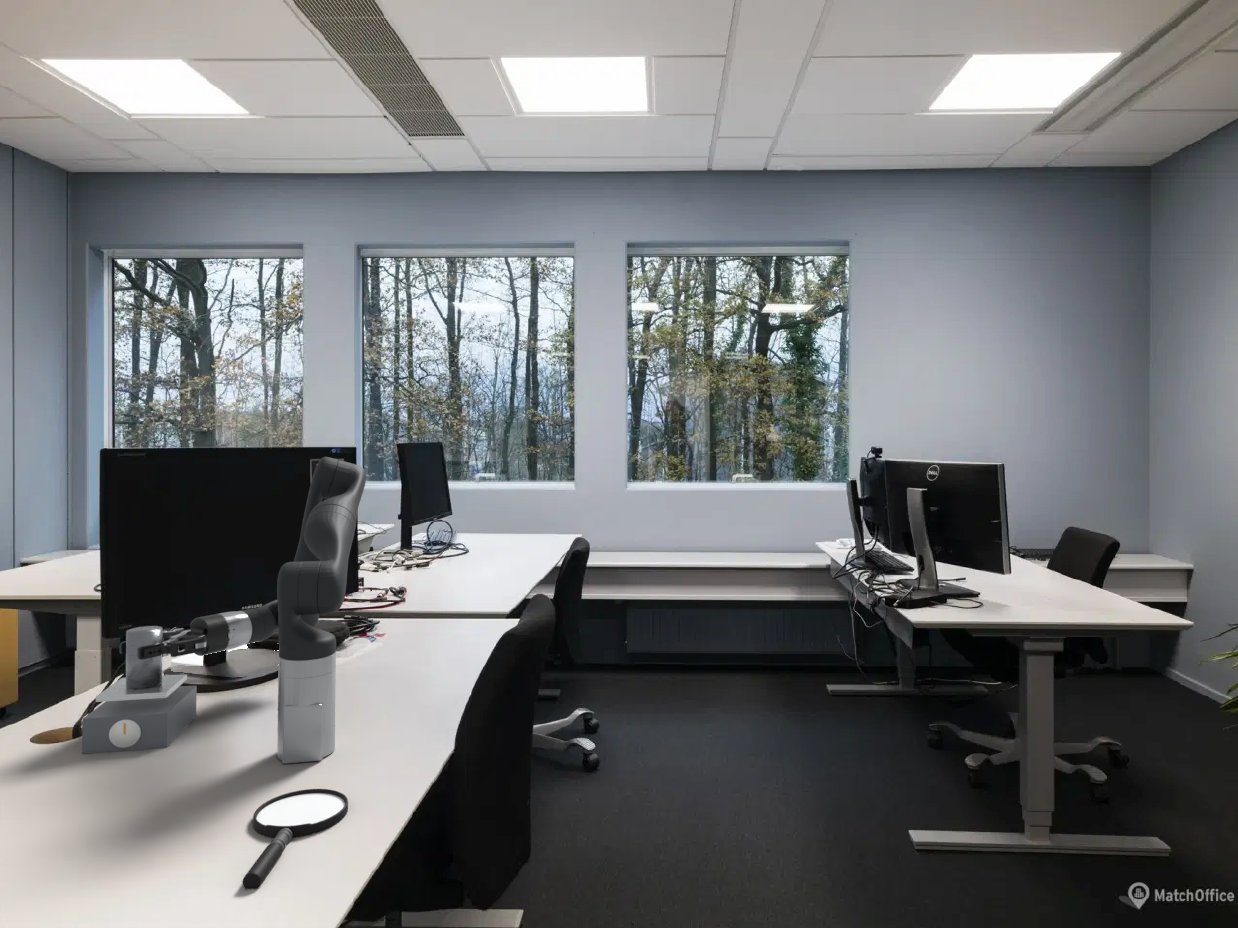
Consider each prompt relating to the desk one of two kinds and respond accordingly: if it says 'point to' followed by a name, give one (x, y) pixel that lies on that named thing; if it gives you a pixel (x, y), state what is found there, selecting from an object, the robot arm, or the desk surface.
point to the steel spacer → (146, 669)
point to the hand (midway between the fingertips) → (129, 651)
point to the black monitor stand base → (196, 658)
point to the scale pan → (141, 689)
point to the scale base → (138, 722)
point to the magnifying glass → (292, 824)
